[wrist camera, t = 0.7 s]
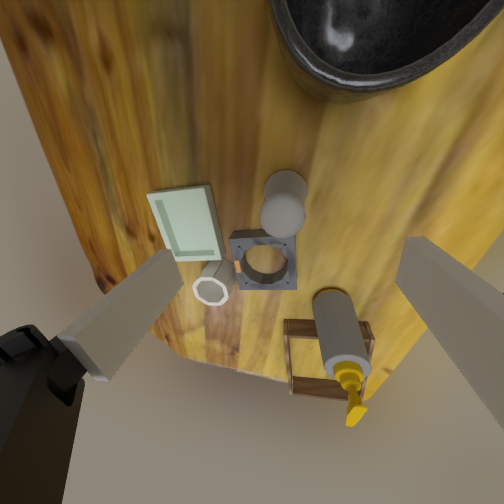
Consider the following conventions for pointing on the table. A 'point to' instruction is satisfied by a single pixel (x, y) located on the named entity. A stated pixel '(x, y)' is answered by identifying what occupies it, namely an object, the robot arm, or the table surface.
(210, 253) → the mint green tray
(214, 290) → the octagonal gray cup
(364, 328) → the book tray
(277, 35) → the planter
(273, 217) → the salt shaker
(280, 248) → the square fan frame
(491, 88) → the table surface
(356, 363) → the soap bottle
